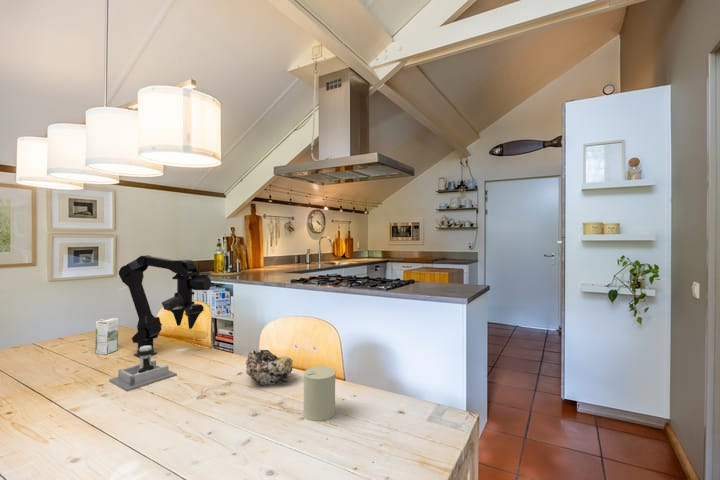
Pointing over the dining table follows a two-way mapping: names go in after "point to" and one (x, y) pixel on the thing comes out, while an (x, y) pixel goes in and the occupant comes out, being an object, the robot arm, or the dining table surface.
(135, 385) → the dock
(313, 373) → the can
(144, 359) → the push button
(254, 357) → the mineral specimen
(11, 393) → the dining table surface
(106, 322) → the syrup box
